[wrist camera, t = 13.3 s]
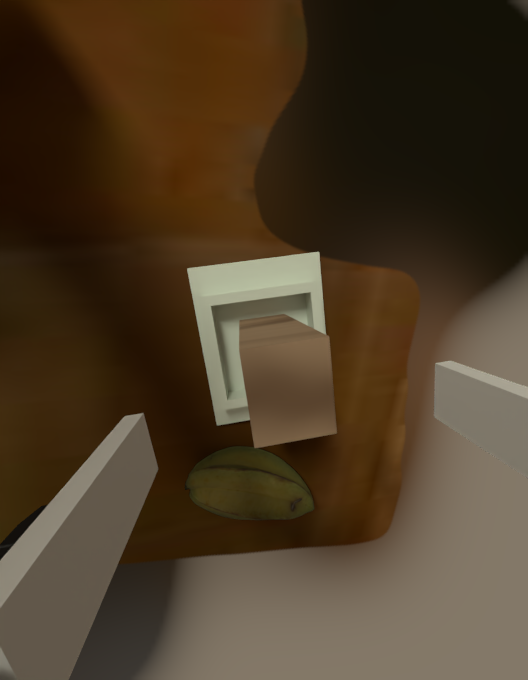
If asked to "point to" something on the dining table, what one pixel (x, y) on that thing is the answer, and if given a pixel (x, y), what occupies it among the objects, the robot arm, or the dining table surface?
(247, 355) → the wooden square post
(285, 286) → the holder plate
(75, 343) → the dining table surface
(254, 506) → the fruit
